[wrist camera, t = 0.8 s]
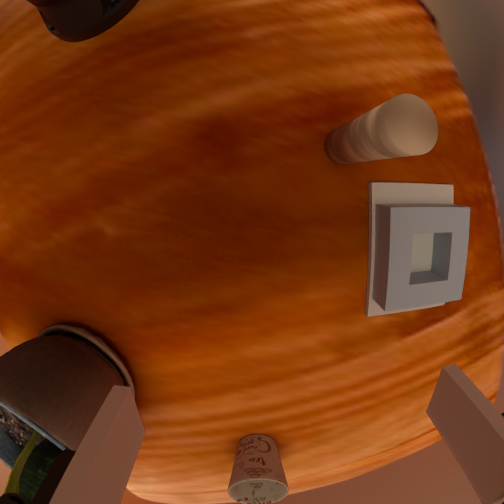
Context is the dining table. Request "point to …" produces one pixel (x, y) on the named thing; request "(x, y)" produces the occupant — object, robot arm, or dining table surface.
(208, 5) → the dining table surface
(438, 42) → the dining table surface
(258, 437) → the mug
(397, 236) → the socket
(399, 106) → the peg
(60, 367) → the potted plant
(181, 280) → the dining table surface
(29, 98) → the dining table surface
